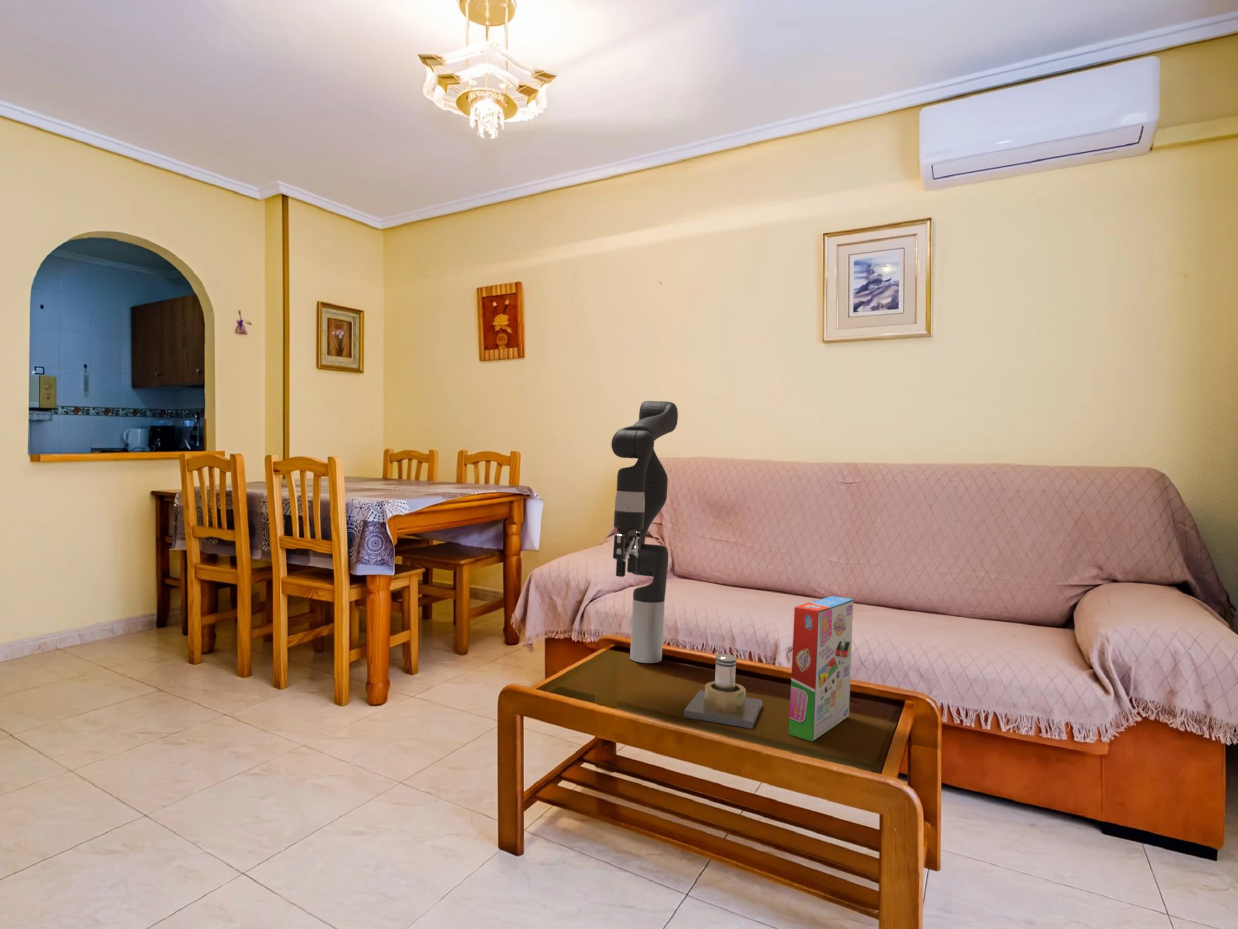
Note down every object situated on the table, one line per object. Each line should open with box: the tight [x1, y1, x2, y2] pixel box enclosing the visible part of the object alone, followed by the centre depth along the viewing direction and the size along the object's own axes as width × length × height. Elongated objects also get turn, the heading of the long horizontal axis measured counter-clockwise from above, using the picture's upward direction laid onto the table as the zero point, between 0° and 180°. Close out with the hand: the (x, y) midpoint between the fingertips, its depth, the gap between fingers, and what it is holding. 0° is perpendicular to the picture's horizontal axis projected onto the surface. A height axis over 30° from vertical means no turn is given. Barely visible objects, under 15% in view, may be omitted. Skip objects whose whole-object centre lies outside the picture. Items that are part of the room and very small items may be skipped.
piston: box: [714, 653, 737, 692], centre depth 153 cm, size 5×5×11 cm
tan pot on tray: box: [683, 680, 763, 730], centre depth 153 cm, size 16×15×6 cm
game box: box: [788, 595, 854, 742], centre depth 147 cm, size 21×6×27 cm, turn 141°
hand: (626, 574), depth 167 cm, fingers open, 8 cm apart
